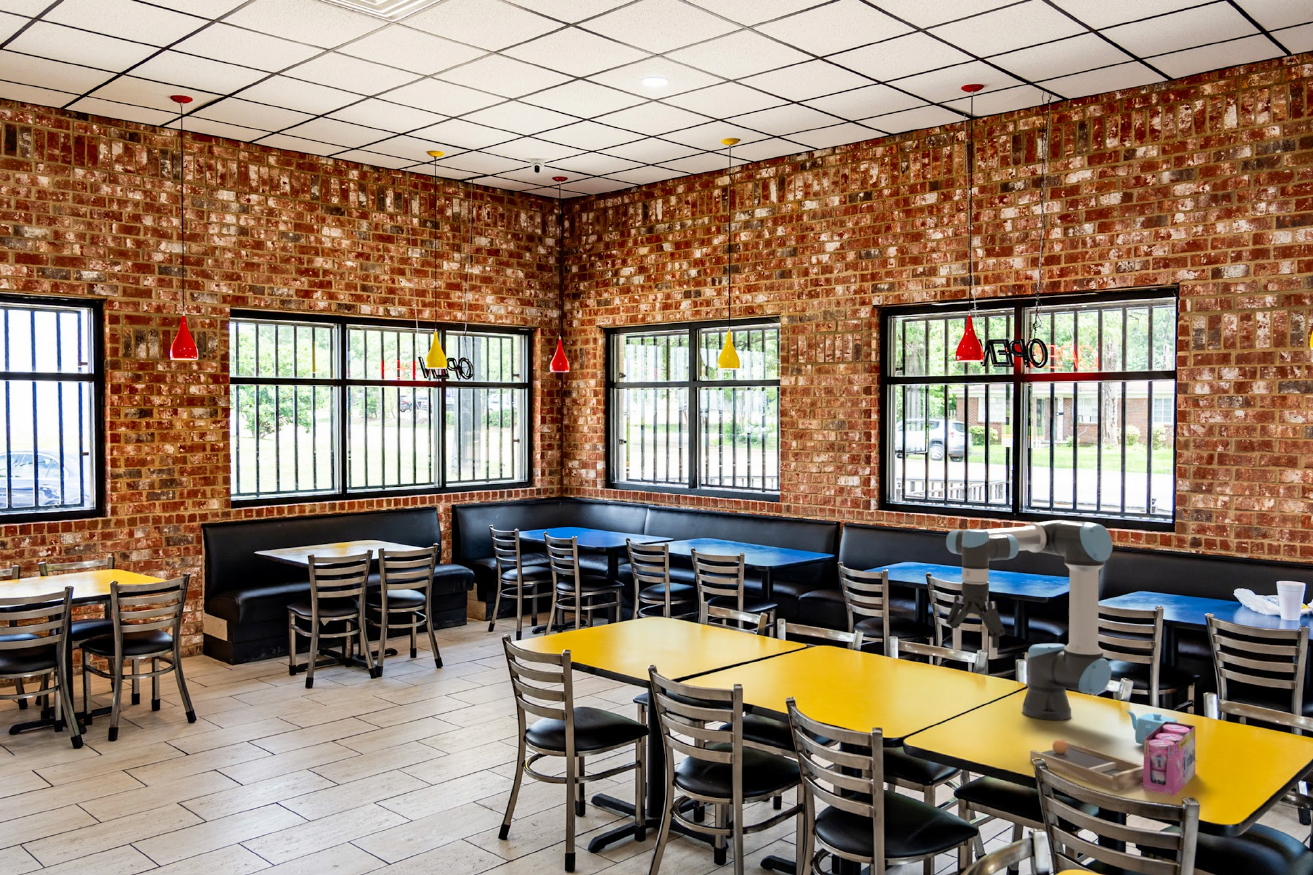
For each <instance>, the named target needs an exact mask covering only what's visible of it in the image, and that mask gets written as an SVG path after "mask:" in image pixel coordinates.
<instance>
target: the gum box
mask: <svg viewBox="0 0 1313 875" xmlns="http://www.w3.org/2000/svg"><path fill="white" fill-rule="evenodd" d="M1143 765H1144V766H1143V784H1142V789H1143V790H1147V791H1150V792H1155V793H1160V794H1165V795H1168V796H1172V797H1173V796H1176V794H1177V793H1178V792H1179V791H1180V790H1181V789H1183V788H1184V787H1185V785H1186V784H1187V783H1189V781H1190V780H1191V779H1192V778H1193V777H1194V776H1195V775H1196V726H1195V725H1191V724H1185V723H1180V722H1177V723H1175V722H1169V721H1166V722H1164V723H1163V724H1162V725H1161V726H1160V727H1158V728H1157V729H1156V730H1155V731H1154V732H1152V733H1151V734H1150V735H1149V736H1147V737H1146V738H1145V739H1144V748H1143Z"/></svg>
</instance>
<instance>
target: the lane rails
mask: <svg viewBox="0 0 1313 875" xmlns="http://www.w3.org/2000/svg"><path fill="white" fill-rule="evenodd" d="M1065 742H1066V744H1067V747H1068V748H1071V749H1075V750H1078V751H1081V752H1084V753H1087V754H1090V755H1093V756H1097V757H1100V758H1103V759H1106V760H1109V761H1112V762H1115V763H1116V768H1117V769H1120V770H1124V771H1123V772H1120V773H1116V774H1113V776H1110V775H1107V774H1104V773H1101V772H1098V771H1095V770H1092V769H1089V768H1086V767H1083V766H1080V765H1077V764H1074V763H1071V762H1068V761H1065V760H1062V759H1058V758H1055V757H1052V756H1049V755H1046V754H1043V753H1041V752H1040V751H1037V750H1035V749H1033V750H1030V752H1029V753H1030V754H1029V755H1030V756H1029V757H1030V760H1029V761H1030V762H1031V761H1032V759H1035V758H1041V759H1044V760H1045V761H1046V763H1047V765H1048V767H1047V768H1049V769H1051V770H1054V771H1057V772H1061V773H1063V774H1066V775H1069V776H1072V777H1074V778H1078V779H1081V780H1084V781H1087V782H1088V783H1089V782H1090V783H1092V784H1096V785H1098V786H1101V787H1104V788H1106V789H1109V790H1112V791H1115V792H1118V791H1121V790H1125V789H1129V788H1132V787H1136V786H1138V785H1143V766H1144V764H1140V763H1137V762H1134V761H1130V760H1128V759H1124V758H1122V757H1117V756H1114V755H1111V754H1109V753H1106V752H1105V753H1104V752H1101V751H1098V750H1095V749H1092V748H1089V747H1086V746H1082V745H1080V744H1075V743H1073V742H1070V741H1065Z"/></svg>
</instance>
